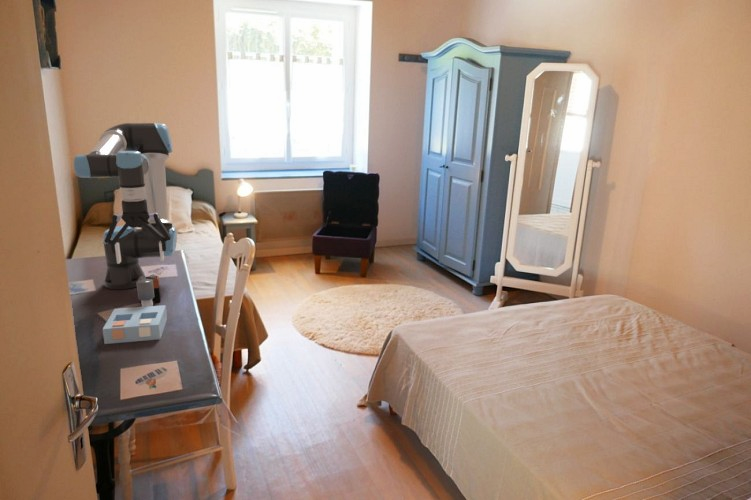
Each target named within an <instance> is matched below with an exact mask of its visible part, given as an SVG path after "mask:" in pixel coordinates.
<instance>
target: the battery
mask: <svg viewBox="0 0 751 500" xmlns="http://www.w3.org/2000/svg"><path fill="white" fill-rule="evenodd" d="M141 279H152V280H153V287H154V296H155V297H154V298H153V299H152V301H153V304H154V303H160V302H161V298H162V297H161V288H160V287H161V286H160V280H159V279H160V278H159V276H158V275H156V274H149V275H148V276H146V275H145V276H141V277H139V279H138V280H141ZM139 302H140V303H141V300H139Z"/></svg>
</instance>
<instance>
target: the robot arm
mask: <svg viewBox="0 0 751 500" xmlns="http://www.w3.org/2000/svg"><path fill="white" fill-rule="evenodd" d="M172 152H173V144H172V139H171V135H170V131H169V128H168V127H167V125H166V124H165V123H157V122H152V123H151V122H147V123H146V122H143V123H142V122H138V123H137V122H136V123H135V122H133V123H132V122H126V123H120V124H117V125H114V126H111V127H109V128H107V129H106V130H105V131H103V133H102V134H101V135H100V136H99V142H98V143H97V144H96V145H95V146H94V147H93V148H92V149H91V151H90V152H89V153H88V154H84V153H82V154H76V155H75V156H74V159H73V169H74V172H75V175H76V176H77V177H78V178H84V179H85V178H88V179H93V178H95V179H96V178H97V179H99V178H118V183H119V184H118V185H119V194H120V199H121V207H122V208H121V210H122V214H118V213H114V214H113V215H112V217H111V219H112V221H111V224H110V226H109V228H108V229H106V230H105V231H104V232H103V234H102V239H103V243H102V244H103V248H104V249H103V250H104V254H105V262H106V270H105V275H104V278H103V283H104V287H105V288H106V289H107V290H108V289H109V290H117V291H118V290H128V289H134V288H137V284H136V282H137V281H138V279H139V277H141V276H145V277H146V275H145V273H144V271H143V268H142V267H141V265H140V262H139V261H140V260H139V259H143V258H144V259H146V258H160V259H159V260H160V262H164V261H165V257H172V256H173V255H174V254H175V252H176V248H177V240H178V234H177V231H178V230H177V228H176V227H175V226H173V223H172V222H171V221H170V220H169V215H168V213H169V212H168V196H167V195H168V193H167V178H166V177H167V176H166V174H167V173H166V160H168V159H169V154H171V153H172ZM120 220H122V221H124V224H123V225H117V224H118V222H120Z"/></svg>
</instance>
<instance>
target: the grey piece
mask: <svg viewBox="0 0 751 500" xmlns="http://www.w3.org/2000/svg"><path fill="white" fill-rule="evenodd" d="M136 284H137V287H136V289H137V299H138V300H139V301H140V300H141V302H140V304H141V307H148V306H154V303H153V301H152V299H153V298H154V297H155V296H154V287H153V280H152V279H141V280H138V281H137V282H136Z"/></svg>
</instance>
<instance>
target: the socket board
mask: <svg viewBox="0 0 751 500" xmlns="http://www.w3.org/2000/svg"><path fill="white" fill-rule="evenodd" d="M167 320H168V314H167V305H166V304H165V305H153V306H148V307H142V306H136V307H122V308H114V309H113V310H112V312H111V314H110V316H109V318H108V320H107V321H106V322H105V324H104V326H103V328H102V337H103V342H104V345H108V344H109V345H110V344H120V343H133V342H143V341H146V342H147V341H155V340H161V338H162V335H163V332H164V330H165V326H166V324H167Z"/></svg>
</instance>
